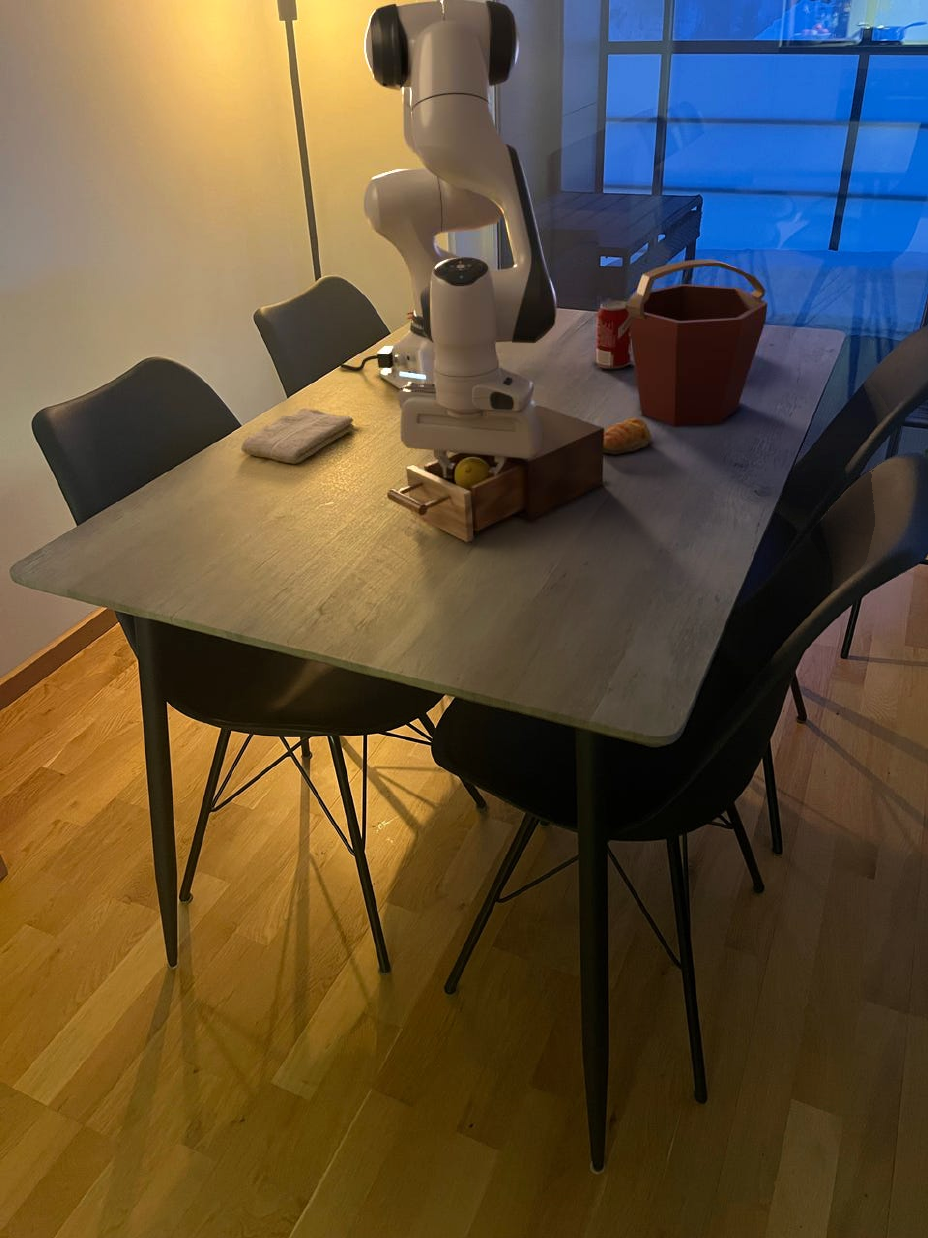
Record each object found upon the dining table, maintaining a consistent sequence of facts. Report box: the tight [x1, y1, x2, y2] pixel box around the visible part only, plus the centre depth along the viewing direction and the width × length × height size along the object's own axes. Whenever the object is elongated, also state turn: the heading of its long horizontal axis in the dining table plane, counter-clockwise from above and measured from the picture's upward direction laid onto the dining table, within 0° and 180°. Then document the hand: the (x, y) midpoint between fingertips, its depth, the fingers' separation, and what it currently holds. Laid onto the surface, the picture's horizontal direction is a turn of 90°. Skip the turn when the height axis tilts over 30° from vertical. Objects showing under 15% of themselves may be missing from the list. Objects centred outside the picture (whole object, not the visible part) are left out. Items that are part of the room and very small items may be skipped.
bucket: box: [625, 259, 769, 427], centre depth 162 cm, size 24×22×25 cm
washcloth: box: [241, 408, 355, 465], centre depth 165 cm, size 12×18×3 cm, turn 150°
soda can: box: [595, 300, 632, 370], centre depth 185 cm, size 7×7×12 cm
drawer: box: [386, 452, 526, 543], centre depth 135 cm, size 20×13×7 cm, turn 131°
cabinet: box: [508, 404, 605, 521], centre depth 143 cm, size 16×14×9 cm
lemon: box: [454, 457, 491, 497], centre depth 136 cm, size 6×6×8 cm
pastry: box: [603, 417, 653, 455], centre depth 155 cm, size 9×7×4 cm
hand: (472, 478), depth 136 cm, fingers closed on lemon, 5 cm apart
